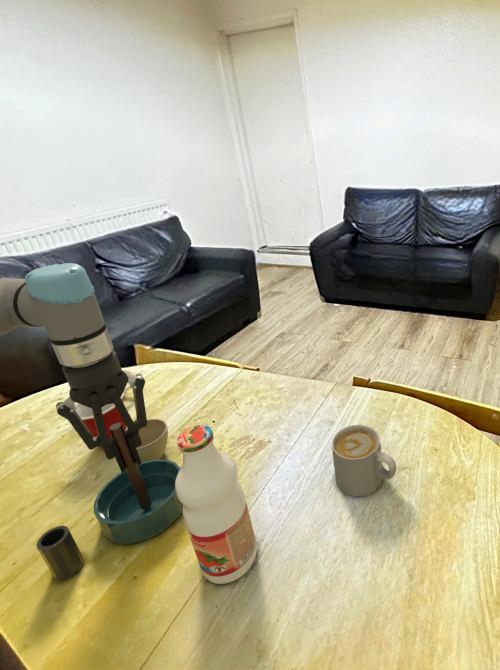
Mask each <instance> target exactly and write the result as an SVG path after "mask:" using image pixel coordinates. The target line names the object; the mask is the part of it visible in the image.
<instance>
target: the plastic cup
mask: <svg viewBox="0 0 500 670" xmlns="http://www.w3.org/2000/svg"><path fill="white" fill-rule="evenodd" d="M121 399H122V401H123V402H124V397H123V394H122V396H121ZM75 407H76V409H75V411H76V412H77V413H78V415H79V416H80V418H81V419H82V421H83V422H84V423H85V425H86V426H87V428H88V429H89V431H90V432H91V433H92V435H93V436H94V437H98V432H97V428H96V424H95V420H94V416H93V412H92V408H89V407H86V406H84V405H82V404H79V403H77V402H76V403H75ZM101 409H102V414H103V418H104V422H105V426H106V430H107V434H108V438H109V437H112V435H111V432H110V430H109V428H110V426H112V425H113V424H115V423H121V424H122V426H123V428H124V431H125V430H126V429H127V427H126V425H125V423H124V421H123V419H122V418H121V416H120V414H119V412H118V410H117V408H116V407H115V405H114V403H112V404H107V405H105V406H104V407H102V408H101Z"/></svg>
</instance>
